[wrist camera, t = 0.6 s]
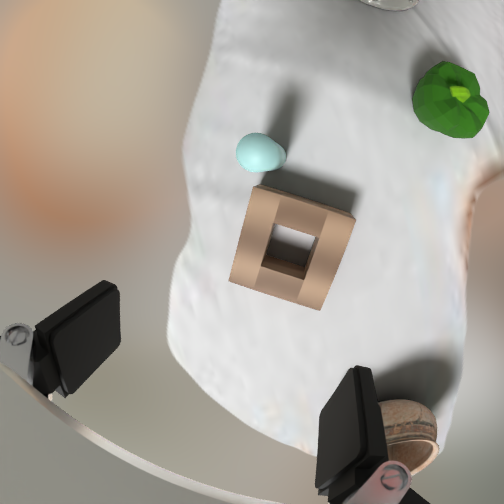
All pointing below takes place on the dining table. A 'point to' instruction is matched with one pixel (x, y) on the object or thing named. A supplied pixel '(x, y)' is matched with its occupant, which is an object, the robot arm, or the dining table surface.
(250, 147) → the peg
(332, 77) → the dining table surface
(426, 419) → the cooking pot
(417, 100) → the bell pepper
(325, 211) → the socket
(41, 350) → the robot arm
